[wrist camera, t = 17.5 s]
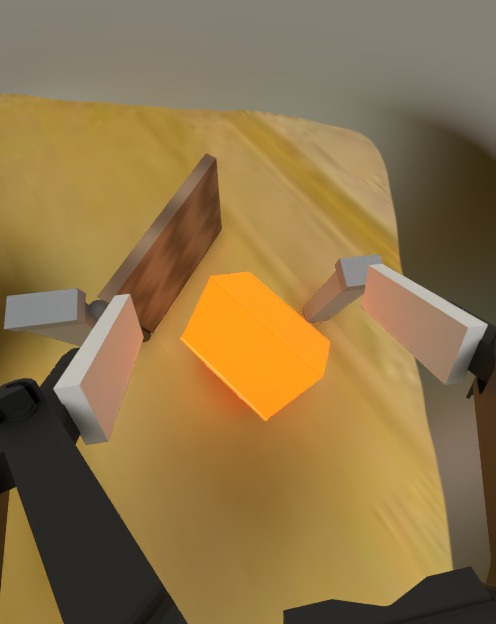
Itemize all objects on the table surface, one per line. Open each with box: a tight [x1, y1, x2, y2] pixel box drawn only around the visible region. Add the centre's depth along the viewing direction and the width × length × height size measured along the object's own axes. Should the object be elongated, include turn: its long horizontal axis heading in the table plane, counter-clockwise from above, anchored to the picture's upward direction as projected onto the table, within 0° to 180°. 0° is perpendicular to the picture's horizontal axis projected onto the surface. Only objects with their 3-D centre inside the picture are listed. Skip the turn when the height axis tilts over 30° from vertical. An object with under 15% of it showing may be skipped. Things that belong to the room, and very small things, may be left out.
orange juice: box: [181, 272, 330, 421], centre depth 25 cm, size 8×9×20 cm
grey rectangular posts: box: [4, 254, 382, 346], centre depth 29 cm, size 30×3×14 cm, turn 98°
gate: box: [89, 154, 222, 342], centre depth 31 cm, size 19×2×12 cm, turn 151°
